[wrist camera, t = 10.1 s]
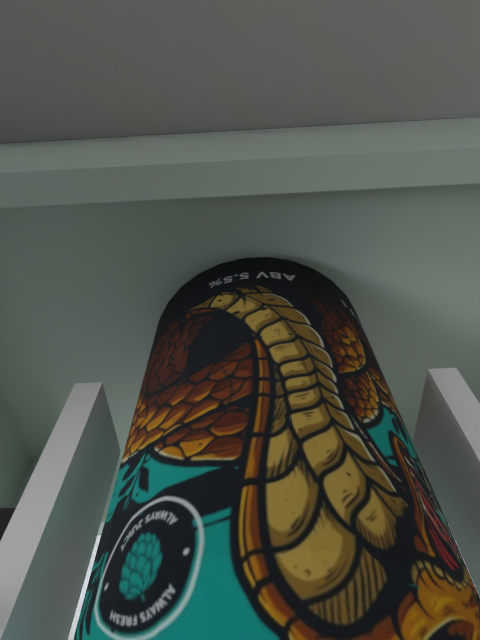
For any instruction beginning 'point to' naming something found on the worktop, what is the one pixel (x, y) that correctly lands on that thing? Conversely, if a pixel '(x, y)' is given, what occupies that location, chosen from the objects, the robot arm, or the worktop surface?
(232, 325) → the beverage can
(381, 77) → the worktop surface
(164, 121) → the worktop surface
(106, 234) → the tray bin
